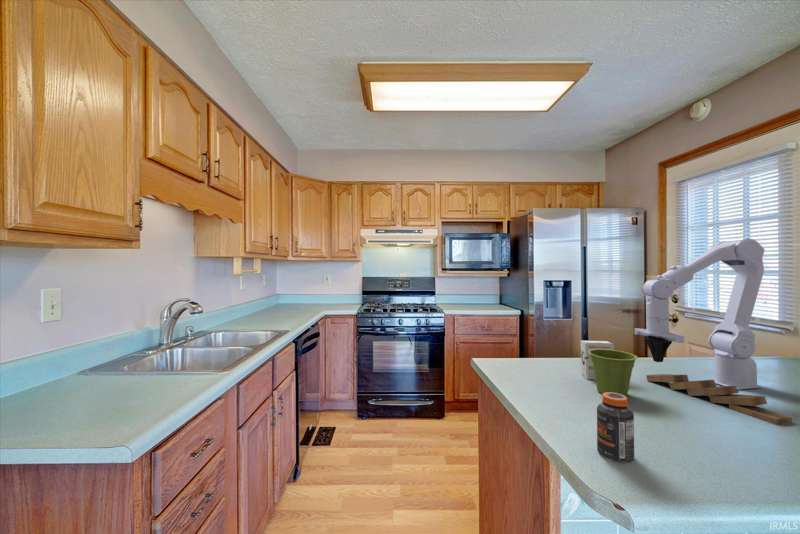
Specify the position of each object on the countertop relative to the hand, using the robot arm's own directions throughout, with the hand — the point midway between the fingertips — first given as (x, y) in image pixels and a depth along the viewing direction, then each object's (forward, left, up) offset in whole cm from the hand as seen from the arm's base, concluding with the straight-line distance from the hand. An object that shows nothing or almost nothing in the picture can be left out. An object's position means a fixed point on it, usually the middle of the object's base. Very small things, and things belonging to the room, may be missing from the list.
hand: (658, 361), depth 104 cm
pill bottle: (+48, +32, -7) cm, 58 cm away
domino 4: (0, +16, -6) cm, 17 cm away
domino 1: (0, -2, -6) cm, 6 cm away
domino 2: (0, +6, -6) cm, 8 cm away
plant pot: (+22, +5, -7) cm, 24 cm away
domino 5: (0, +20, -6) cm, 21 cm away
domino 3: (0, +11, -6) cm, 12 cm away
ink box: (+15, -8, -7) cm, 18 cm away
